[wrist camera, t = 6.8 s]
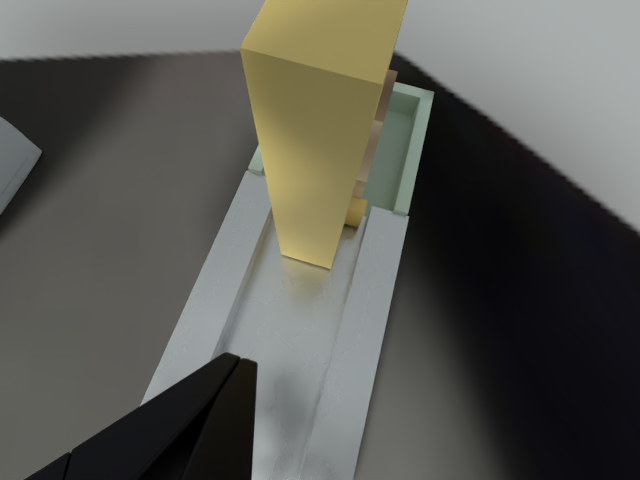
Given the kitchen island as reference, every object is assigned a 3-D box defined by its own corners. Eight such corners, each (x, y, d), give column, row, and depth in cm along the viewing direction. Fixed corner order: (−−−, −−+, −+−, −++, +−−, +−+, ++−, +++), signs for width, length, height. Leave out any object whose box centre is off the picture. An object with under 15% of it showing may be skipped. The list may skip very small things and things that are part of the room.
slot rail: (333, 519, 16) (339, 549, 13) (140, 452, 16) (110, 468, 14) (397, 234, 21) (410, 216, 19) (252, 192, 22) (245, 169, 19)
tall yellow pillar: (346, 273, 18) (426, 96, 6) (266, 249, 19) (198, 36, 7) (362, 216, 20) (453, -20, 8) (287, 194, 20) (262, -65, 8)
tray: (394, 233, 21) (408, 213, 18) (255, 193, 22) (247, 167, 19) (419, 123, 25) (434, 92, 22) (298, 91, 25) (298, 56, 22)
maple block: (354, 216, 20) (366, 182, 16) (293, 198, 20) (291, 161, 17) (369, 164, 22) (383, 122, 18) (312, 148, 22) (313, 103, 18)
